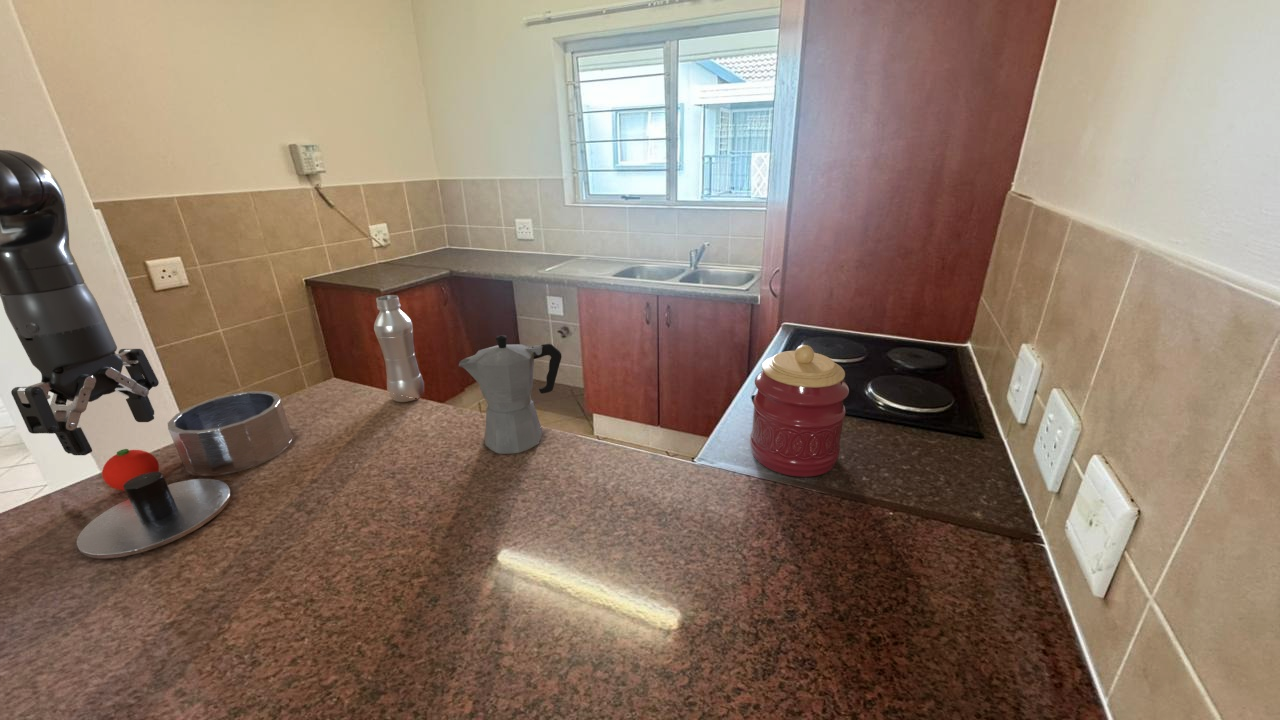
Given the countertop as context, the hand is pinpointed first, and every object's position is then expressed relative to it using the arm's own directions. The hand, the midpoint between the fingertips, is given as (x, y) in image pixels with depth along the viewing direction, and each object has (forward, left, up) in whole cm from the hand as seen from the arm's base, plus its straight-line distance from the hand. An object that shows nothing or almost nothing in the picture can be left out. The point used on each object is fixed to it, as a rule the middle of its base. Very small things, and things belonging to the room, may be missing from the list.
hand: (115, 436), depth 68 cm
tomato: (0, 0, -6) cm, 6 cm away
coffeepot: (+51, +14, -8) cm, 54 cm away
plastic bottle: (+26, +28, -8) cm, 39 cm away
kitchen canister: (+94, +9, -8) cm, 95 cm away
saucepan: (+8, +9, -8) cm, 15 cm away
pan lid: (+10, -7, -8) cm, 14 cm away
